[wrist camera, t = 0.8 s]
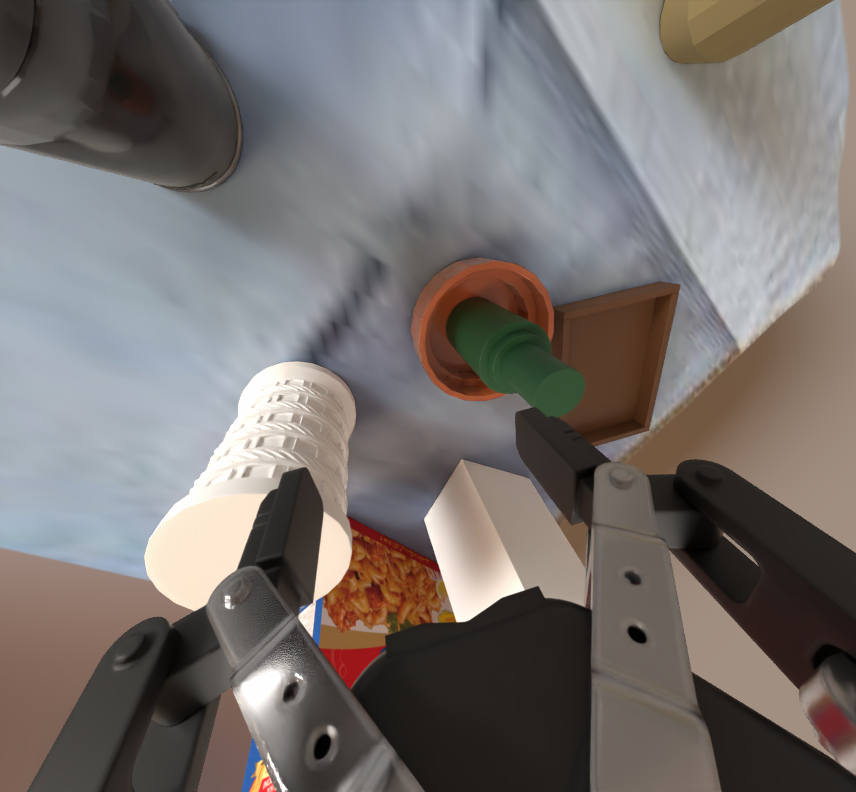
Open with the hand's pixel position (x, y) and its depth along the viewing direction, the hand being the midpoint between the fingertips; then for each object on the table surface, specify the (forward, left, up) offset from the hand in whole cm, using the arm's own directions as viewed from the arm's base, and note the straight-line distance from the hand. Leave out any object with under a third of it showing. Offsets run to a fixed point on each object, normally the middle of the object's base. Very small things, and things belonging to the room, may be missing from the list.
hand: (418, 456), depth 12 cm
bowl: (+3, +9, -22) cm, 24 cm away
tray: (+13, +25, -22) cm, 36 cm away
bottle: (+3, +9, -22) cm, 24 cm away
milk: (+29, +7, -22) cm, 37 cm away
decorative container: (+8, -11, -22) cm, 26 cm away
